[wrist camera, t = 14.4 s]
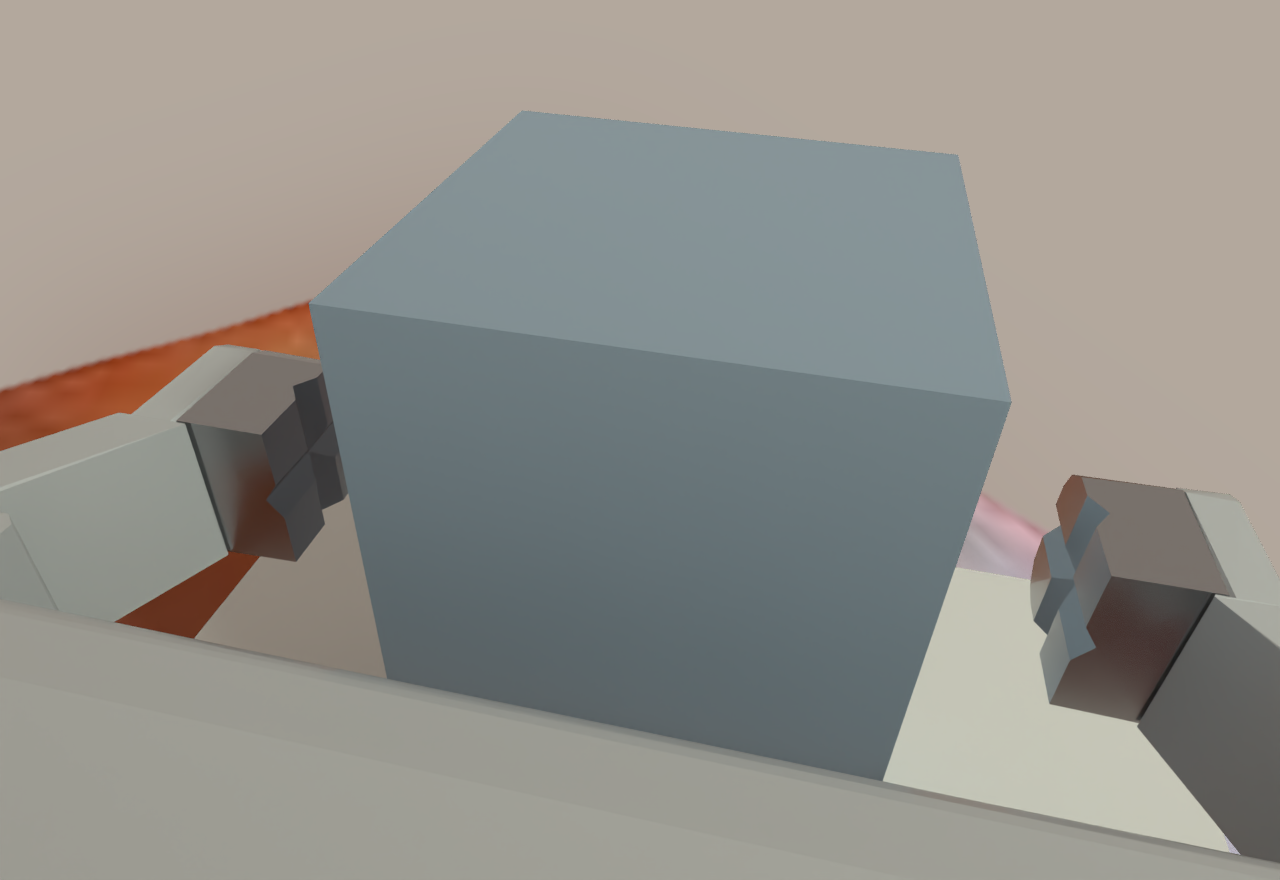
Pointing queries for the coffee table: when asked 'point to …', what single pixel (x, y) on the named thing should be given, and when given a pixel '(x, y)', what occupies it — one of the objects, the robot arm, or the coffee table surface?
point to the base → (928, 738)
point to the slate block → (670, 429)
